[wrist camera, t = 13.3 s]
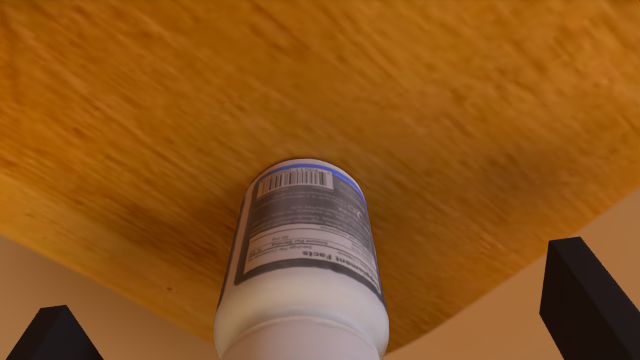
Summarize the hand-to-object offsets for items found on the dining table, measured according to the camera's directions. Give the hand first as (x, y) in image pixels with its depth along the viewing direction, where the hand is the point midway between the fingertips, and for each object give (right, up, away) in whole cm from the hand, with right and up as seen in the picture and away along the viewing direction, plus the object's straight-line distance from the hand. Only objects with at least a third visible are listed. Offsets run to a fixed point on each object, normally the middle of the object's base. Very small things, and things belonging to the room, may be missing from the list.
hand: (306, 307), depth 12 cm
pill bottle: (0, +3, +5) cm, 5 cm away
